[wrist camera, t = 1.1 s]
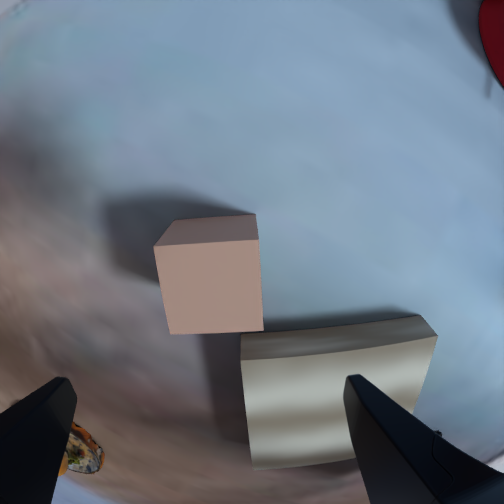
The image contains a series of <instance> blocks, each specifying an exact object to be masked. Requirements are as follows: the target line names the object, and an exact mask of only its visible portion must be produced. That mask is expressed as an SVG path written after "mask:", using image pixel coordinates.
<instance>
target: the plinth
mask: <svg viewBox="0 0 504 504" xmlns="http://www.w3.org/2000/svg"><path fill="white" fill-rule="evenodd" d="M437 338H438V335H437V334H436V333H435V332H434V330H433V329H432V328H431V327H430V326H429V324H428V323H427V322H426V321H425V320H424V318H423V317H422V316H421V315H418V316H411V317H405V318H398V319H391V320H384V321H377V322H369V323H361V324H353V325H344V326H335V327H326V328H316V329H305V330H293V331H281V332H266V333H250V334H241V355H240V361H241V371H242V380H243V389H244V398H245V407H246V416H247V425H248V433H249V442H250V450H251V458H252V466H253V470H264V469H278V468H289V467H299V466H308V465H315V464H323V463H329V462H336V461H341V460H347V459H352V458H356V455H355V452H354V449H353V446H352V442H351V438H350V433H349V428H348V422H347V417H346V412H345V407H344V402H343V392H344V386H345V380H346V377H347V376H348V375H354V374H361V375H362V376H363V377H365V378H366V379H367V380H368V381H370V382H371V383H372V384H374V385H375V386H376V387H377V388H379V389H380V390H381V391H382V392H384V393H385V394H386V395H388V396H389V397H390V398H391V399H393V400H394V401H395V402H396V403H398V404H399V405H400V406H402V407H403V408H404V409H406V410H407V411H408V412H409V413H411V414H412V412H413V410H414V407H415V404H416V402H417V399H418V396H419V394H420V391H421V388H422V385H423V383H424V380H425V377H426V374H427V371H428V368H429V364H430V361H431V358H432V355H433V351H434V348H435V345H436V341H437Z"/></svg>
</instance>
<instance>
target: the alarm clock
mask: <svg viewBox="0 0 504 504" xmlns="http://www.w3.org/2000/svg"><path fill="white" fill-rule="evenodd" d="M479 28H480V34H481V38H482V42H483V46H484V48H485V51H486V54H487V57H488V59H489V61H490V64H491V66H492V68H493V70H494V72H495V74H496V75H497V77H498V79H499V80H500V82H501V83H502V85H503V86H504V0H484V1H483V3H482V5H481V7H480V11H479Z"/></svg>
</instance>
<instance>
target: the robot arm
mask: <svg viewBox="0 0 504 504" xmlns="http://www.w3.org/2000/svg"><path fill="white" fill-rule="evenodd" d="M343 402H344V407H345V412H346V417H347V422H348V428H349V433H350V438H351V442H352V446H353V449H354V452H355V455H356V458H357V462H358V465H359V468H360V471H361V474H362V477H363V481H364V484H365V487H366V490H367V494H368V497H369V500H370V503H371V504H504V473H502V472H499V471H497V470H495V469H493V468H491V467H489V466H488V465H486V464H484V463H482V462H480V461H479V460H477V459H475V458H473V457H471V456H470V455H468V454H466V453H465V452H463V451H461V450H460V449H458V448H456V447H455V446H454V445H452V444H451V443H449V442H448V441H446V440H445V439H444V438H442V433H441V432H437V433H435V432H434V431H433V430H432V429H430V428H429V427H428V426H426V425H425V424H424V423H422V422H421V421H420V420H419V419H417V418H416V417H415V416H413V415H412V414H411V413H409V412H408V411H407V410H406V409H404V408H403V407H402V406H400V405H399V404H398V403H396V402H395V401H394V400H393V399H391V398H390V397H389V396H388V395H386V394H385V393H384V392H382V391H381V390H380V389H379V388H377V387H376V386H375V385H374V384H372V383H371V382H370V381H368V380H367V379H366V378H365V377H363V376H362V375H361V374H354V375H348V376H347V377H346V380H345V386H344V392H343ZM76 403H77V396H76V393H75V391H74V389H73V387H72V385H71V383H70V381H69V379H68V378H66V377H55V378H54V379H52V380H51V381H49V382H48V383H46V384H45V385H43V386H42V387H40V388H39V389H37V390H36V391H34V392H32V393H31V394H29V395H28V396H26V397H25V398H23V399H22V400H20V401H19V402H17V403H16V404H14V405H13V406H11V407H10V408H8V409H7V410H5V411H4V412H2V413H0V504H51V502H52V498H53V493H54V489H55V486H56V482H57V478H58V474H59V471H60V467H61V463H62V460H63V456H64V453H65V450H66V446H67V443H68V440H69V436H70V431H71V427H72V422H73V417H74V412H75V408H76Z"/></svg>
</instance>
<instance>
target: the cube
mask: <svg viewBox="0 0 504 504" xmlns="http://www.w3.org/2000/svg"><path fill="white" fill-rule="evenodd" d="M153 247H154V253H155V259H156V265H157V271H158V276H159V282H160V287H161V292H162V297H163V302H164V307H165V312H166V317H167V321H168V326H169V330H170V334H204V333H230V332H249V331H264V329H263V309H262V289H261V270H260V251H259V237H258V229H257V222H256V214H251V215H235V216H221V217H207V218H193V219H181V220H174V221H173V222H172V224H171V225H170V226H169V227H168V229H167V230H166V231H165V232H164V234H163V235H162V236H161V237H160V239H159V240H158V241H157V242H156V244H155V245H154V246H153Z"/></svg>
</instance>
